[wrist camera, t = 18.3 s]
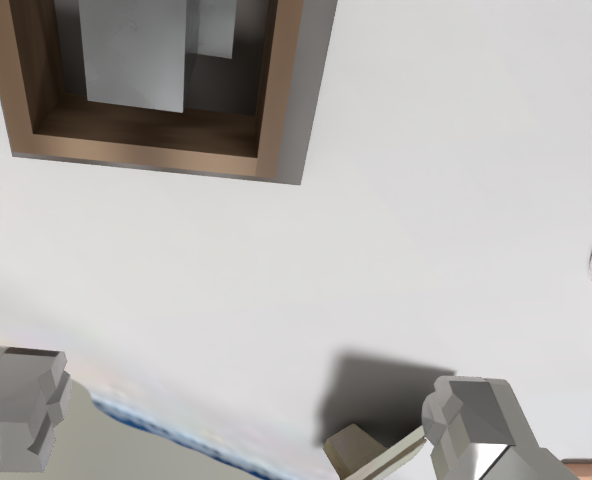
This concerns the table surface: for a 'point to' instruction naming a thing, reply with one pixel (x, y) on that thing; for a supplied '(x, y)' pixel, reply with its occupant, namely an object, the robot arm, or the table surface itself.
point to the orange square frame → (581, 470)
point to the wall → (369, 453)
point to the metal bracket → (151, 48)
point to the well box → (166, 124)
